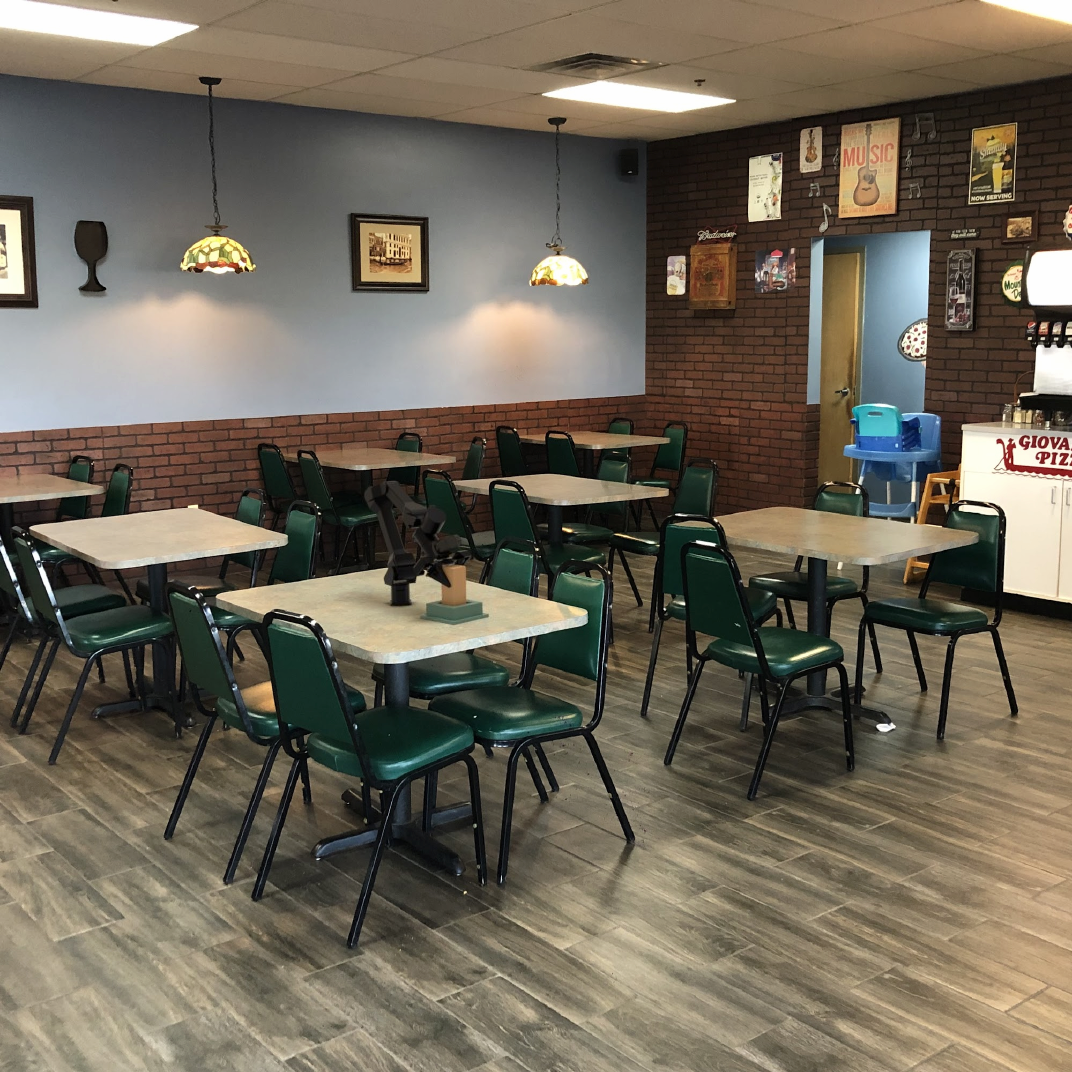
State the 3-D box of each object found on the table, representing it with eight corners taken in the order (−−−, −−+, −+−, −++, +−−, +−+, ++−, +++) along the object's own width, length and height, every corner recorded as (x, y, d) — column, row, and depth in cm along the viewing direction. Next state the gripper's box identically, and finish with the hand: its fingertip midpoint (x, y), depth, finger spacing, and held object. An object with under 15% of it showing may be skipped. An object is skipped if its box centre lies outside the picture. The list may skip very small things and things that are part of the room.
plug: (441, 607, 350) (441, 566, 348) (454, 604, 354) (453, 564, 352) (453, 609, 347) (453, 568, 345) (466, 607, 350) (465, 566, 349)
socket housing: (420, 618, 350) (419, 603, 350) (455, 610, 360) (455, 596, 360) (453, 624, 341) (453, 609, 340) (488, 616, 351) (488, 602, 350)
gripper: (419, 530, 343) (446, 572, 337) (466, 522, 356) (493, 564, 350) (401, 554, 349) (428, 597, 343) (448, 546, 363) (474, 587, 357)
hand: (457, 585), depth 348 cm, fingers closed on plug, 5 cm apart
